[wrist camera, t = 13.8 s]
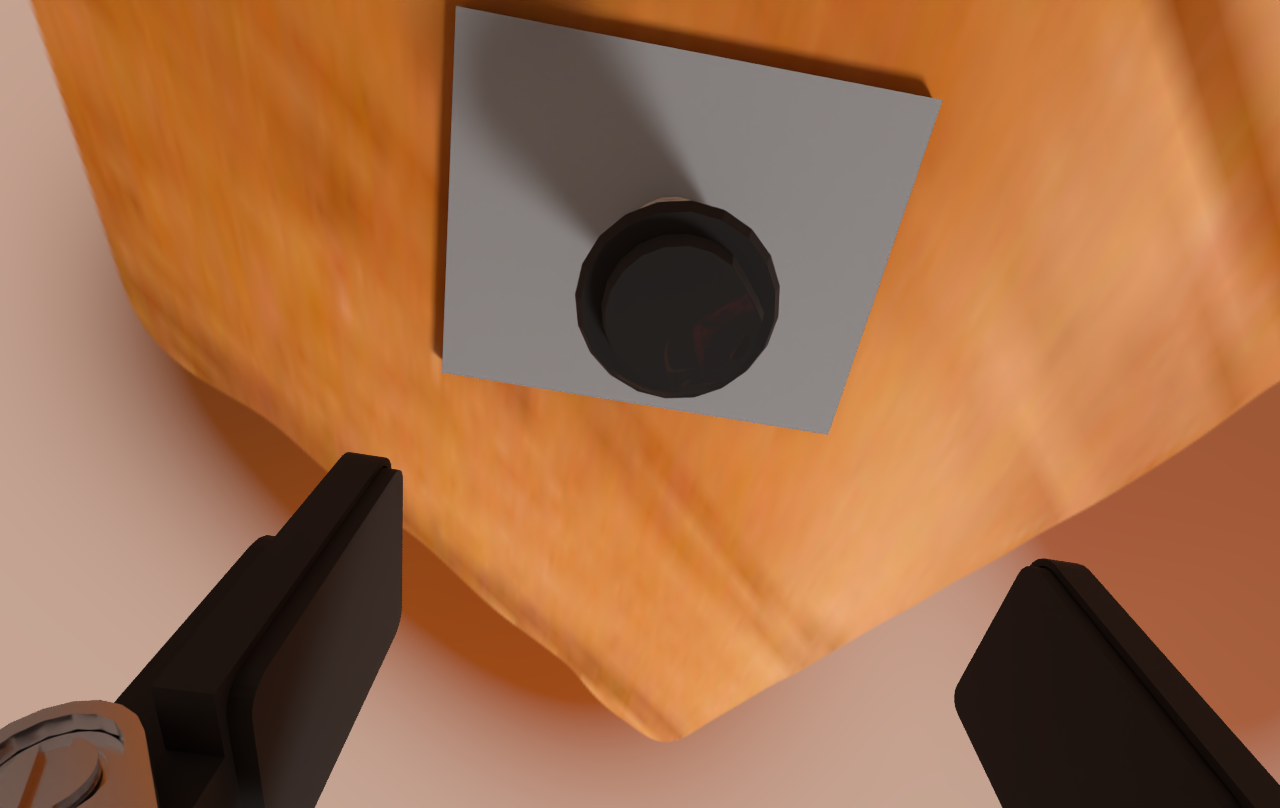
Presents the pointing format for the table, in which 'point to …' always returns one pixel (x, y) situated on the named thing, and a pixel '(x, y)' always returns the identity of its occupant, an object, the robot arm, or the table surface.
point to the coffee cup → (677, 298)
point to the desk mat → (664, 167)
